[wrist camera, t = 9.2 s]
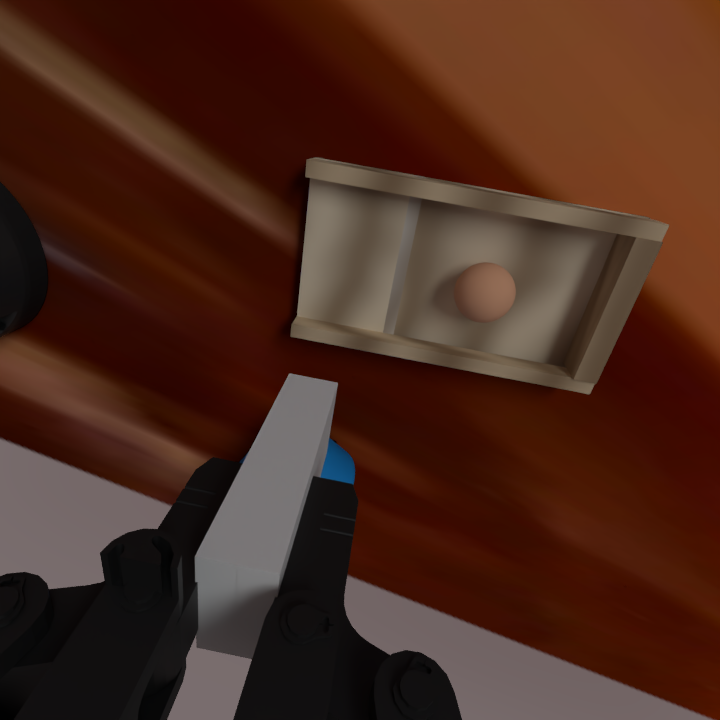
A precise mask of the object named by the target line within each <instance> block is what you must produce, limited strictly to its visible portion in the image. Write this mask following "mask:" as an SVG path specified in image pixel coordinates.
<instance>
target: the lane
mask: <svg viewBox="0 0 720 720" xmlns="http://www.w3.org/2000/svg"><path fill="white" fill-rule="evenodd" d="M305 177H307V178H310V186H309V197H308V207H307V217H306V228H305V238H304V248H303V258H302V269H301V279H300V289H299V300H298V310H297V317H296V318H295V320H294V321H293V323H292V325H291V336H290V337H295V338H300V339H305V340H311V341H316V342H321V343H326V344H331V345H337V346H342V347H347V348H352V349H357V350H362V351H368V352H373V353H378V354H383V355H388V356H394V357H399V358H404V359H409V360H414V361H420V362H425V363H430V364H435V365H440V366H445V367H451V368H456V369H461V370H466V371H471V372H477V373H482V374H487V375H492V376H497V377H503V378H508V379H513V380H518V381H523V382H529V383H534V384H539V385H544V386H549V387H554V388H560V389H565V390H570V391H575V392H580V393H586V394H590V393H591V390H592V388H593V386H594V384H596V383H597V381H598V379H599V377H600V375H601V373H602V371H603V369H604V366H605V364H606V362H607V360H608V358H609V356H610V354H611V352H612V349H613V347H614V345H615V343H616V341H617V339H618V337H619V335H620V333H621V330H622V328H623V326H624V324H625V322H626V320H627V318H628V316H629V313H630V311H631V309H632V307H633V305H634V303H635V301H636V299H637V296H638V294H639V292H640V290H641V288H642V286H643V284H644V282H645V280H646V277H647V275H648V273H649V271H650V269H651V267H652V265H653V263H654V260H655V258H656V256H657V254H658V252H659V250H660V248H661V246H662V244H663V242H661V241H662V239H663V237H664V235H665V233H666V231H667V229H668V227H669V225H668V224H665V223H662V222H660V221H657V220H652V219H650V218H648V217H644V216H638V215H633V214H627V213H622V212H616V211H611V210H605V209H599V208H594V207H588V206H583V205H577V204H572V203H566V202H561V201H555V200H549V199H544V198H538V197H533V196H527V195H522V194H516V193H511V192H505V191H500V190H494V189H488V188H483V187H477V186H472V185H466V184H461V183H455V182H450V181H444V180H439V179H433V178H427V177H422V176H416V175H411V174H405V173H400V172H394V171H389V170H383V169H377V168H372V167H366V166H361V165H355V164H350V163H344V162H339V161H333V160H328V159H322V158H311V159H307V162H306V173H305ZM484 262H488V263H494V264H497V265H499V266H501V267H503V268H504V269H506V270H507V271H508V272H509V273H510V275H511V276H512V278H513V280H514V283H515V287H516V296H515V300H514V303H513V305H512V307H511V308H510V310H509V311H508V312H507V313H506V314H505V315H504V316H503V317H501V318H500V319H498V320H495V321H492V322H487V323H481V322H475V321H472V320H470V319H468V318H466V317H465V316H464V315H463V314H462V313H461V312H460V311H459V309H458V308H457V306H456V303H455V299H454V288H455V284H456V282H457V280H458V278H459V276H460V275H461V274H462V273H463V272H464V271H465V270H466V269H467V268H469V267H470V266H473V265H475V264H478V263H484Z"/></svg>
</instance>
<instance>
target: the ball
mask: <svg viewBox="0 0 720 720" xmlns="http://www.w3.org/2000/svg"><path fill="white" fill-rule="evenodd" d="M515 296H516V287H515V283H514V280H513V278H512V276H511V275H510V273H509V272H508V271H507V270H506V269H504V268H503V267H501V266H499V265H497V264H494V263H488V262H484V263H478V264H475V265H473V266H470V267H469V268H467V269H466V270H465V271H464V272H463V273H462V274H461V275H460V276H459V278H458V280H457V282H456V284H455V288H454V299H455V303H456V306H457V308H458V309H459V311H460V312H461V313H462V314H463V315H464V316H465V317H466V318H468V319H470V320H472V321H475V322H481V323H487V322H492V321H495V320H498V319H500V318H501V317H503V316H504V315H505V314H506V313H507V312H508V311H509V310H510V308H511V307H512V305H513V303H514V300H515Z"/></svg>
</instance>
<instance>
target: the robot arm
mask: <svg viewBox="0 0 720 720" xmlns="http://www.w3.org/2000/svg"><path fill="white" fill-rule="evenodd" d="M47 283H48V275H47V265H46V260H45V255H44V252H43V248H42V245H41V243H40V240H39V238H38V235H37V233H36V231H35V229H34V227H33V225H32V223H31V221H30V219H29V218H28V216H27V215H26V213H25V211H24V210H23V209H22V207H21V206H20V204H19V203H18V202H17V200H16V199H15V198H14V197H13V195H12V194H11V193H10V192H9V191H8V190H7V189H6V188H5V186H4V185H3V184H2V183H1V182H0V337H2V336H4V335H6V334H8V333H10V332H12V331H14V330H16V329H19V328H21V327H22V326H24V325H26V324H27V323H29V322H30V321H31V320H32V319H33V318H34V317H35V316H36V315H37V313H38V312H39V310H40V309H41V307H42V305H43V302H44V299H45V296H46V291H47ZM337 386H338V383H336V382H331V381H326V380H321V379H315V378H310V377H305V376H300V375H295V374H290V373H289V375H288V377H287V379H286V381H285V383H284V385H283V387H282V389H281V391H280V393H279V394H278V396H277V398H276V400H275V402H274V404H273V406H272V408H271V410H270V412H269V414H268V416H267V418H266V420H265V422H264V423H263V425H262V427H261V429H260V431H259V433H258V435H257V437H256V439H255V441H254V443H253V445H252V447H251V449H250V451H249V453H248V454H247V456H246V458H245V460H244V462H243V463H239V462H234V461H229V460H224V459H219V458H214V457H213V458H211V459H210V460H209V461H207V462H206V463H204V464H203V465H202V466H200V467H199V468H198V469H196V470H195V472H194V473H193V475H192V476H191V478H190V480H189V481H188V483H187V484H186V486H185V489H183V490H182V492H181V493H180V495H179V497H178V498H177V501H176V503H174V504H173V506H172V507H171V509H170V511H169V512H168V514H167V515H166V517H165V518H164V520H163V521H162V523H161V524H160V526H159V528H158V529H140V530H136V531H132V532H128V533H126V534H125V535H122V536H120V537H119V538H117V539H115V540H113V541H112V542H111V543H110V544H109V545H108V546H107V547H106V548H104V550H103V551H102V552H100V555H101V561H102V567H103V573H104V579H105V581H104V582H101V583H97V584H91V585H86V586H76V587H67V588H58V589H48V585H47V583H46V582H45V581H44V580H43V579H42V578H40V576H38V575H34V574H31V573H27V572H20V573H10V574H5V575H3V576H0V720H167V718H168V716H169V713H170V711H171V708H172V706H173V704H174V701H175V699H176V696H177V694H178V692H179V689H180V687H181V685H182V682H183V678H184V674H185V670H186V657H187V654H188V652H189V650H190V647H191V645H192V643H193V640H194V638H195V636H196V639H197V648H202V649H207V650H211V651H216V652H221V653H226V654H231V655H235V656H240V657H245V658H250V659H252V661H251V665H250V668H249V671H248V674H247V677H246V681H245V684H244V687H243V690H242V694H241V697H240V700H239V703H238V706H237V710H236V713H235V716H234V719H233V720H462V718H461V715H460V711H459V707H458V703H457V700H456V696H455V693H454V690H453V688H452V685H451V683H450V681H449V679H448V676H447V674H446V673H445V672H444V671H443V670H442V669H441V667H440V666H439V665H438V664H437V663H436V662H435V661H434V660H432V659H431V658H429V657H427V656H426V655H424V654H422V653H420V652H413V651H408V650H405V651H401V652H397V653H394V654H391V655H389V654H387V653H386V652H384V651H382V650H380V649H379V648H377V647H375V646H374V645H372V644H371V643H369V642H368V641H366V640H365V639H364V638H362V637H361V636H360V635H359V634H358V633H357V632H356V630H355V629H354V628H353V627H352V626H351V624H350V621H349V620H348V618H347V616H346V611H345V607H344V593H345V586H346V579H347V573H348V566H349V560H350V553H351V546H352V540H353V533H354V526H355V520H356V513H357V507H358V498H357V496H356V493H355V490H354V487H353V484H351V483H346V482H341V481H336V480H331V479H326V478H321V477H320V476H321V472H322V469H323V465H324V461H325V458H326V454H327V449H328V442H329V436H330V430H331V423H332V417H333V411H334V405H335V398H336V392H337Z"/></svg>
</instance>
